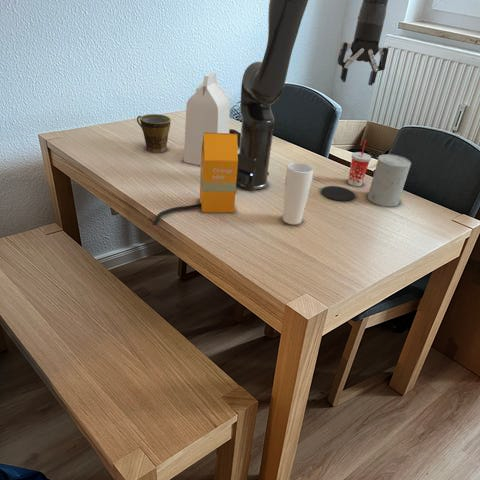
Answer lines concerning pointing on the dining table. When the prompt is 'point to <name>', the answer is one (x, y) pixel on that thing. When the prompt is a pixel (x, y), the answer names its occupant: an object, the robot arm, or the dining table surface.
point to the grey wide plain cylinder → (389, 180)
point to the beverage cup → (358, 167)
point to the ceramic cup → (155, 131)
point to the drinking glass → (296, 191)
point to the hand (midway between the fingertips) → (356, 83)
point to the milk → (205, 116)
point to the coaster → (337, 193)
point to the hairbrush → (237, 135)
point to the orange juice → (218, 172)
